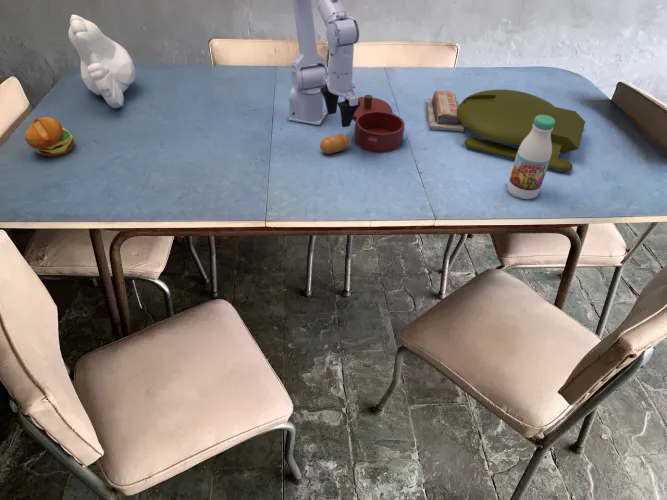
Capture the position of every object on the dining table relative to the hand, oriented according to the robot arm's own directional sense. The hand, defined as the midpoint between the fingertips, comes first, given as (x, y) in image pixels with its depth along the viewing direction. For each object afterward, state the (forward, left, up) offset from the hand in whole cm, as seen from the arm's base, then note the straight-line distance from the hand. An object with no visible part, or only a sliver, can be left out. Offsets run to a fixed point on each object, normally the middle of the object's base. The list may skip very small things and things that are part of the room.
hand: (338, 119), depth 145 cm
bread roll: (0, -2, -8) cm, 9 cm away
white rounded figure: (-74, +5, -9) cm, 75 cm away
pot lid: (+3, +24, -8) cm, 25 cm away
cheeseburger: (-70, -26, -9) cm, 75 cm away
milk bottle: (+50, -5, -9) cm, 51 cm away
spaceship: (+47, +24, -8) cm, 53 cm away
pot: (+10, +8, -8) cm, 15 cm away
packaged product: (+26, +28, -9) cm, 39 cm away
